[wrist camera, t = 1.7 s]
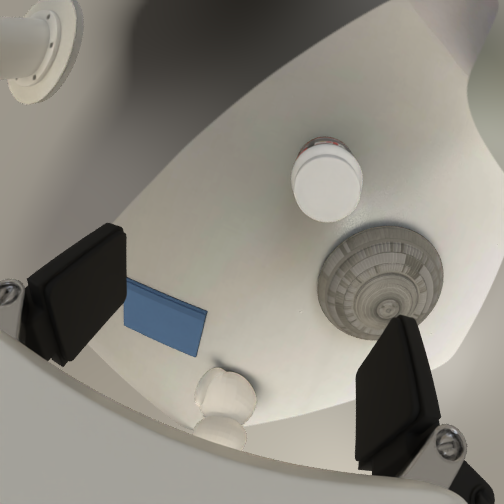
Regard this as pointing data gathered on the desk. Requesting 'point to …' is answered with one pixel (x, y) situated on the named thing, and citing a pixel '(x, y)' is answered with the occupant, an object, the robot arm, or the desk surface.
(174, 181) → the desk surface
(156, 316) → the cloth
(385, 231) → the flying saucer
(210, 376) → the cat figurine
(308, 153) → the pill bottle
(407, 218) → the desk surface
